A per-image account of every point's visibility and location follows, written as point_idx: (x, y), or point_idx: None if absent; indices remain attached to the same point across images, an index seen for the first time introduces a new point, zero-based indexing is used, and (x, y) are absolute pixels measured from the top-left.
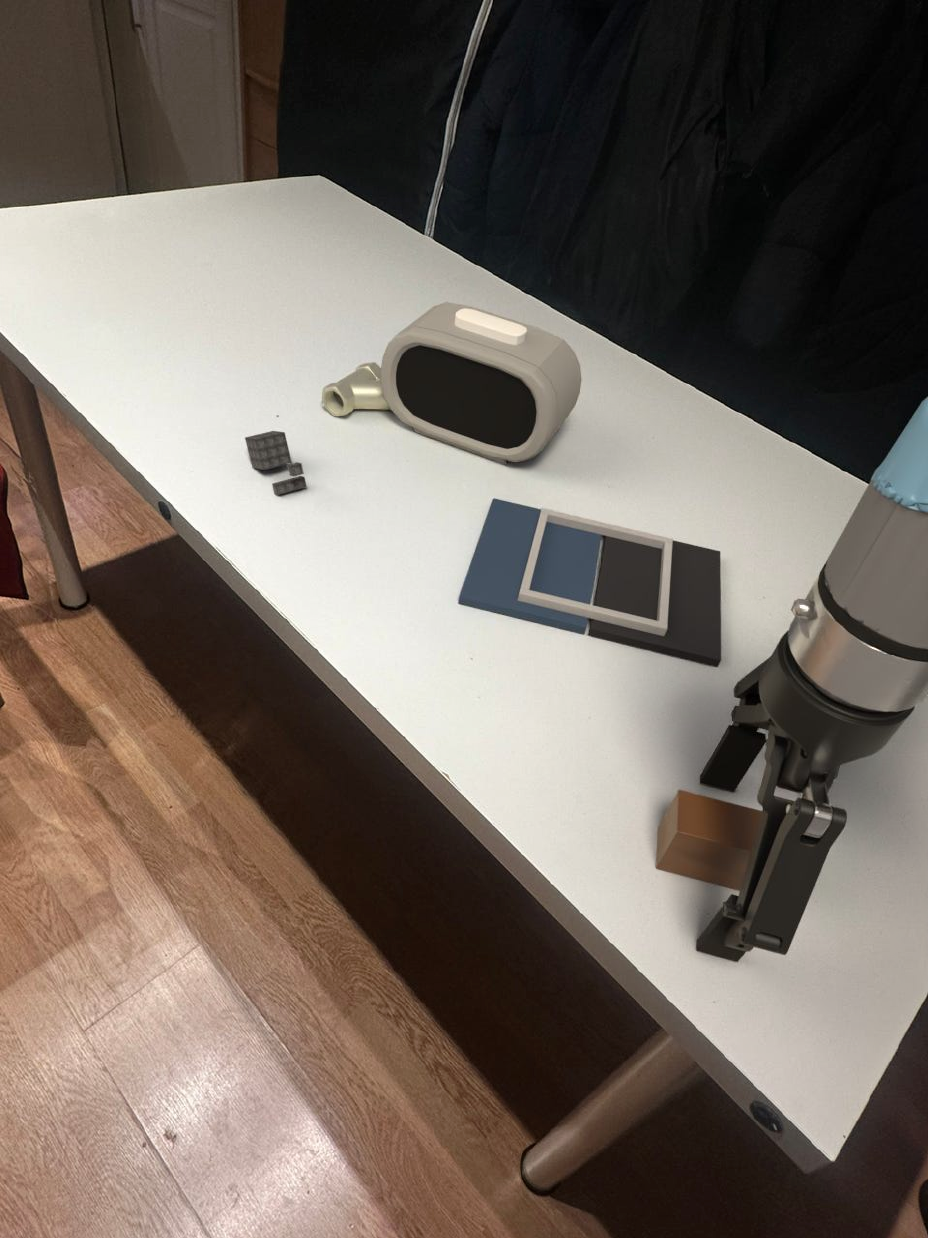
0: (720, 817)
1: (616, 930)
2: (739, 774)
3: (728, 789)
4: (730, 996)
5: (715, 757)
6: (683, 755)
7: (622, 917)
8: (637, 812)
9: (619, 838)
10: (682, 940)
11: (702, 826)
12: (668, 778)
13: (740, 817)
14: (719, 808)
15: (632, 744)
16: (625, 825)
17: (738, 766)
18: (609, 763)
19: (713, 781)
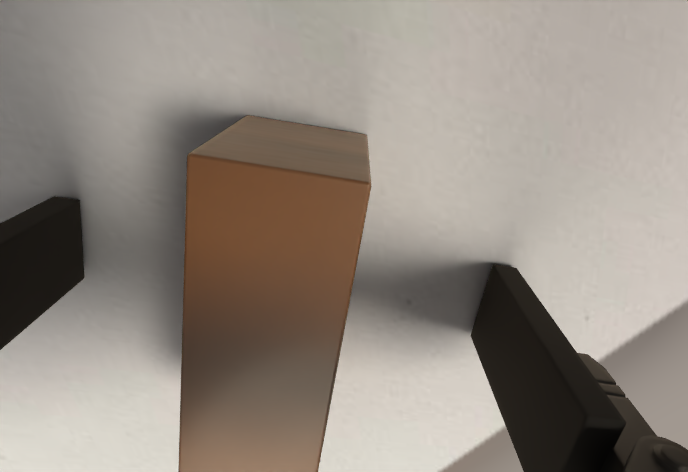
0: (242, 416)
1: (451, 449)
2: (33, 241)
3: (77, 216)
4: (579, 287)
5: (11, 336)
6: None
7: (427, 439)
8: None
9: None
10: (467, 354)
11: (282, 460)
12: (94, 333)
13: (227, 366)
14: (210, 410)
15: (33, 391)
16: None
17: (12, 266)
18: (101, 433)
19: (71, 261)
